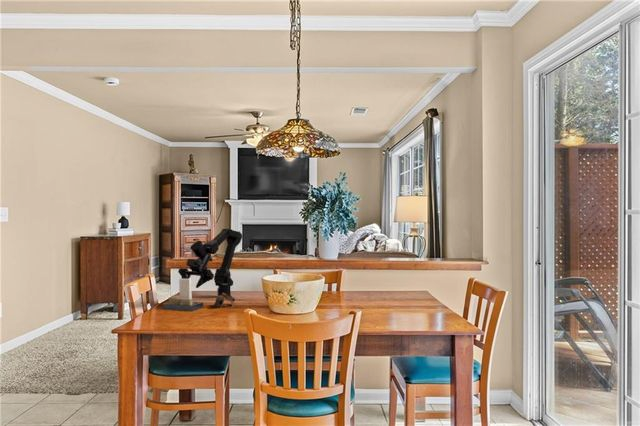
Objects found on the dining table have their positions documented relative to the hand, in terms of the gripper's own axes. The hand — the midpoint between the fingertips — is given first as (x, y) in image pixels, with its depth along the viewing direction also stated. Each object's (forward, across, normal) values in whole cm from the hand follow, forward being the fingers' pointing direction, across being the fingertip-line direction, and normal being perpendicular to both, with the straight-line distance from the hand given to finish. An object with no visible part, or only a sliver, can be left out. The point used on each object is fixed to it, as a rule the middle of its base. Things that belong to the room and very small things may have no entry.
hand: (188, 287), depth 234 cm
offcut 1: (+11, -3, +2) cm, 12 cm away
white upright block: (+9, 0, +5) cm, 10 cm away
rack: (+11, 0, +4) cm, 11 cm away
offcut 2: (+11, +3, +2) cm, 12 cm away
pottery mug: (+4, +16, +11) cm, 20 cm away
